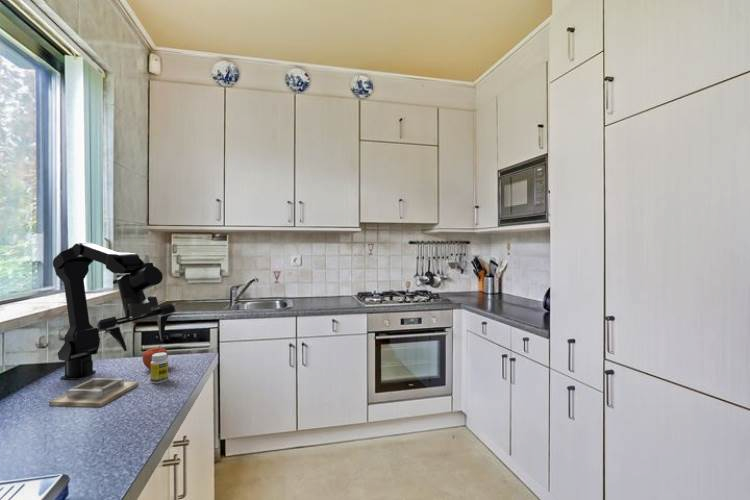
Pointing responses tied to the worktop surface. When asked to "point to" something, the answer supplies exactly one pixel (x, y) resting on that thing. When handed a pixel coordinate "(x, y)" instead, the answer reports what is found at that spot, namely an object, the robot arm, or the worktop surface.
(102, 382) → the carrier plate
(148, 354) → the apple
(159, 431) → the worktop surface
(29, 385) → the worktop surface
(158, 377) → the supplement bottle
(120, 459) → the worktop surface
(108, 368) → the worktop surface
